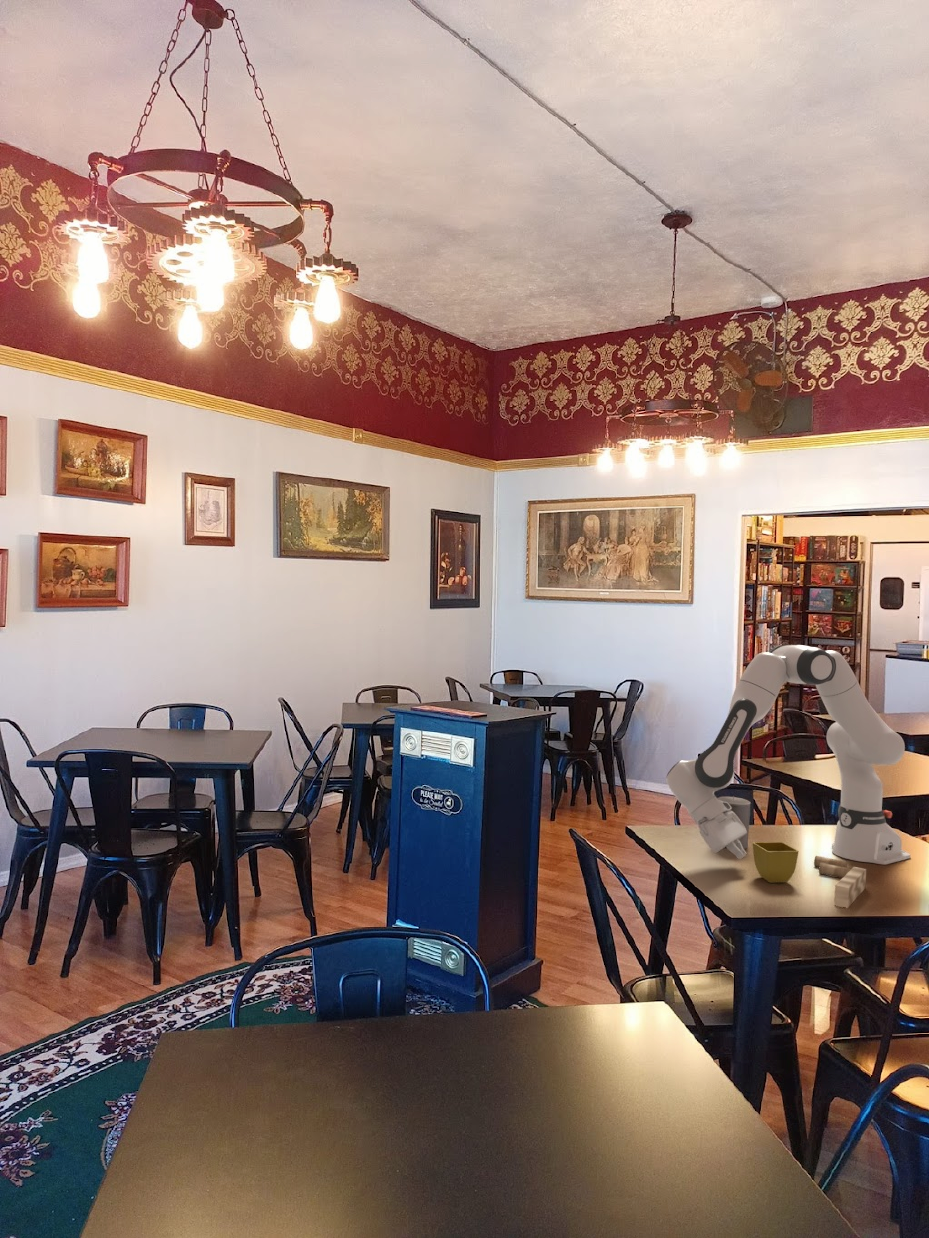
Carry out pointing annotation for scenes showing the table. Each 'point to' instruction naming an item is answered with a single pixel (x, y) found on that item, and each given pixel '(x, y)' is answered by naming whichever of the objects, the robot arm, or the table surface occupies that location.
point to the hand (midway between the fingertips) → (743, 857)
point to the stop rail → (850, 887)
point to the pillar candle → (740, 814)
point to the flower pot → (775, 860)
